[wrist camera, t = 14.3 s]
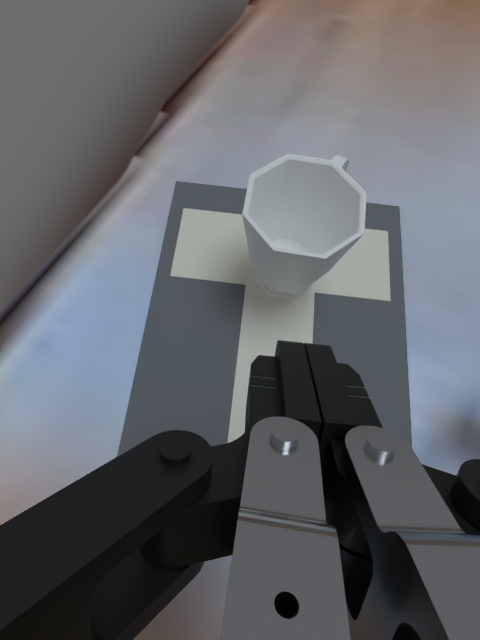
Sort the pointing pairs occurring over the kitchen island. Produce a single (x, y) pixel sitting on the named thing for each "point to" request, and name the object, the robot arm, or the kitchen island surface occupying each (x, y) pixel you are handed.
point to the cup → (301, 221)
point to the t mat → (260, 321)
